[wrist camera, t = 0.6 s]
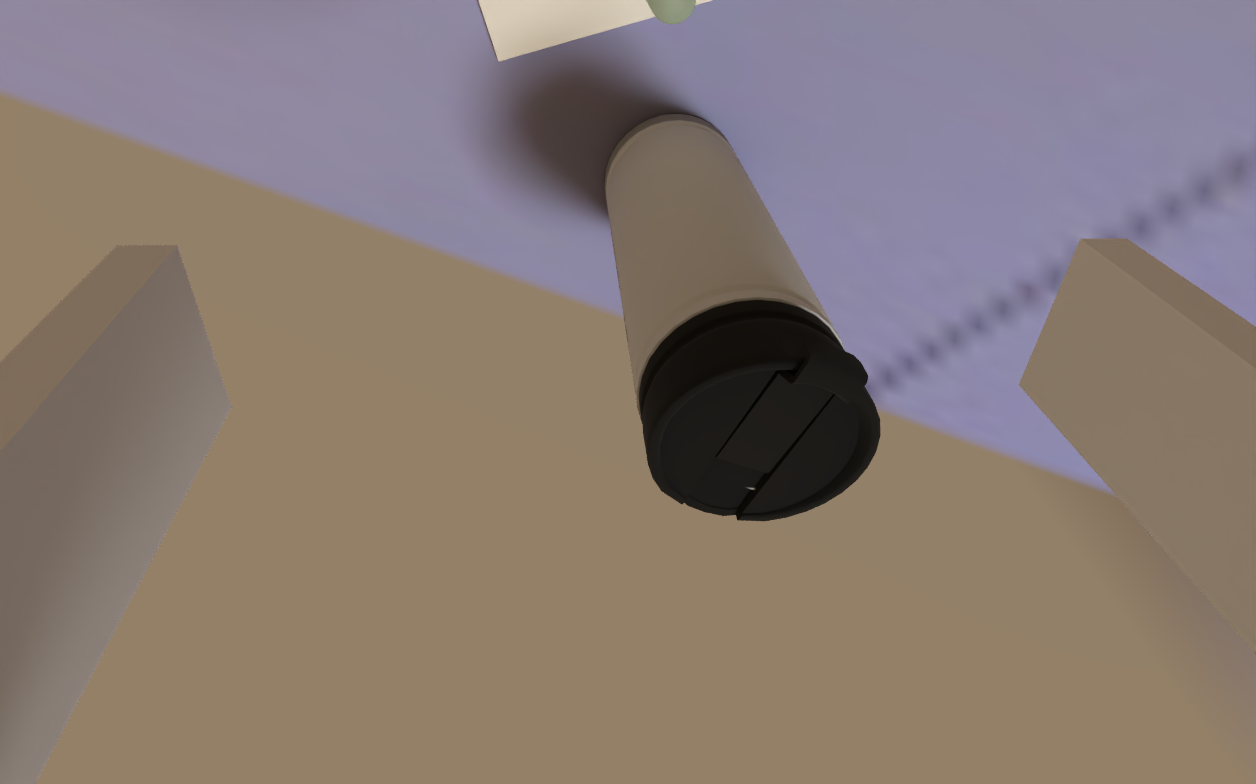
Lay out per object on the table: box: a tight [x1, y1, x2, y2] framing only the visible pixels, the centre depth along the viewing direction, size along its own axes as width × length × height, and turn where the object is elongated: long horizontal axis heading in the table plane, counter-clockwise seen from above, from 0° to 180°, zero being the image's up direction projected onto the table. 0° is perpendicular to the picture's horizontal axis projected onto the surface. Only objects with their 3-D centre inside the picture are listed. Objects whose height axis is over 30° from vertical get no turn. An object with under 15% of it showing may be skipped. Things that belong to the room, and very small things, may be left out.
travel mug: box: [605, 114, 880, 521], centre depth 28 cm, size 6×7×20 cm
